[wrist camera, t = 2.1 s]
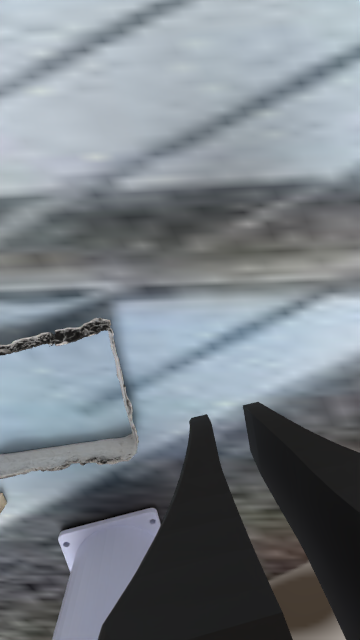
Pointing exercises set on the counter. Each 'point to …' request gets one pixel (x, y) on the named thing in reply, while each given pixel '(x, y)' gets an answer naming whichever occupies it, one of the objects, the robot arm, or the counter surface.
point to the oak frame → (2, 502)
